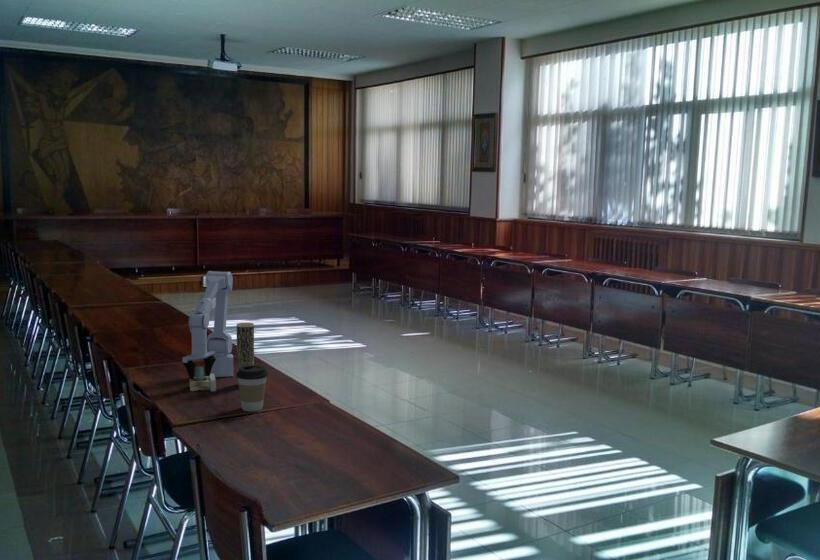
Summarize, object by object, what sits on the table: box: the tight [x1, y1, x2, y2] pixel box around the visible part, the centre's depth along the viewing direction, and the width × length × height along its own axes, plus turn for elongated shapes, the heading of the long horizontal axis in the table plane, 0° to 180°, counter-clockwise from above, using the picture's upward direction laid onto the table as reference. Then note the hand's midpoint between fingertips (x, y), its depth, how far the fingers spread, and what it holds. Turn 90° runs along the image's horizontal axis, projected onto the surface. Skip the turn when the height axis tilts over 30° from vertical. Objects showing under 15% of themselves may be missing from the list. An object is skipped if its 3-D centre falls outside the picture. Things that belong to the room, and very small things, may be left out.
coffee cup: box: [235, 364, 269, 413], centre depth 269 cm, size 11×11×15 cm
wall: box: [209, 373, 217, 392], centre depth 296 cm, size 2×12×4 cm, turn 18°
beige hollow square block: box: [189, 375, 211, 392], centre depth 295 cm, size 8×8×4 cm
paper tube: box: [235, 322, 255, 387], centre depth 299 cm, size 7×7×25 cm
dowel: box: [195, 365, 205, 381], centre depth 294 cm, size 3×3×8 cm
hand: (199, 377), depth 294 cm, fingers open, 7 cm apart
